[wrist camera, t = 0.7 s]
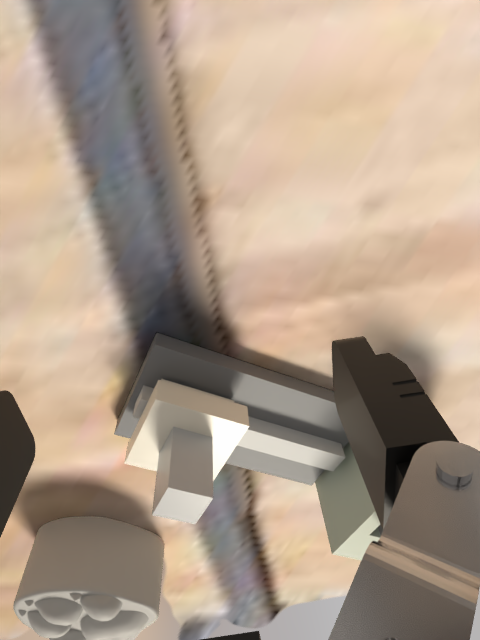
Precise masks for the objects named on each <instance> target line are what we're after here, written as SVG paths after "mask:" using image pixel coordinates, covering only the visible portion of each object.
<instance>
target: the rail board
mask: <svg viewBox="0 0 480 640" xmlns="http://www.w3.org/2000/svg"><path fill="white" fill-rule="evenodd" d="M161 379H164V380H168V381H171V382H174V383H178V384H181V385H184V386H188V387H191V388H194V389H197V390H201V391H204V392H207V393H211V394H214V395H217V396H221V397H224V398H227V399H230V400H234V403H238V404H241V405H244V406H247V408H248V418H249V428H248V429H247V431H246V432H245V434H244V435H243V437H242V438H241V440H240V441H239V443H238V444H237V446H236V447H235V449H234V450H233V452H232V453H231V455H230V456H229V458H228V459H227V461H226V462H225V463H227V464H231V465H235V466H238V467H242V468H246V469H250V470H254V471H258V472H262V473H265V474H269V475H273V476H277V477H281V478H285V479H289V480H293V481H296V482H300V483H304V484H308V485H313V483H314V482H315V481H316V480H317V479H318V478H319V476H320V475H321V474H322V473H323V472H324V470H329V471H332V472H333V471H334V470H335V469H336V468H337V467H338V465H339V464H340V463H341V462H342V461H343V460H344V459H345V454H344V451H343V448H344V447H345V445H346V444H347V443H348V442H349V441H348V438H347V436H346V433H345V431H344V428H343V425H342V423H341V420H340V418H339V415H338V412H337V408H336V403H335V398H334V391H331V390H328V389H325V388H322V387H319V386H316V385H313V384H310V383H307V382H304V381H301V380H298V379H295V378H292V377H289V376H286V375H283V374H280V373H277V372H274V371H271V370H268V369H265V368H262V367H259V366H256V365H253V364H250V363H247V362H244V361H241V360H238V359H235V358H232V357H229V356H226V355H223V354H220V353H217V352H214V351H211V350H208V349H205V348H202V347H199V346H196V345H193V344H190V343H187V342H184V341H181V340H178V339H175V338H172V337H169V336H166V335H163V334H160V333H156V335H155V337H154V339H153V342H152V344H151V346H150V348H149V351H148V353H147V355H146V357H145V360H144V362H143V364H142V366H141V369H140V371H139V373H138V376H137V378H136V380H135V382H134V385H133V387H132V389H131V391H130V394H129V396H128V398H127V400H126V403H125V405H124V407H123V409H122V412H121V414H120V416H119V418H118V421H117V425H116V429H115V433H114V434H115V435H119V436H122V437H126V438H131V436H132V434H133V432H134V430H135V428H136V426H137V424H138V421H139V419H140V417H141V415H142V413H143V411H144V409H145V407H146V405H147V403H148V401H149V398H150V396H151V394H152V392H153V390H154V388H155V386H156V384H157V382H158V380H161Z"/></svg>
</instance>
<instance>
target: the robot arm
mask: <svg viewBox="0 0 480 640" xmlns="http://www.w3.org/2000/svg"><path fill="white" fill-rule="evenodd" d="M332 363H333V387H334V398H335V403H336V408H337V412H338V415H339V418H340V420H341V423H342V425H343V428H344V431H345V433H346V436H347V438H348V441H349V444H350V446H351V449H352V451H353V454H354V457H355V459H356V462H357V464H358V467H359V470H360V472H361V475H362V477H363V480H364V483H365V485H366V488H367V490H368V493H369V496H370V498H371V501H372V503H373V506H374V509H375V511H376V514H377V516H378V519H379V522H380V524H381V527H382V529H383V532H382V535H381V537H380V539H379V540H378V542H376V541H372V542H371V543H370V544H369V546H368V548H367V550H366V552H365V554H364V556H363V558H362V561H361V563H360V565H359V568H358V570H357V573H356V575H355V577H354V580H353V582H352V584H351V587H350V589H349V592H348V594H347V596H346V599H345V601H344V604H343V606H342V608H341V611H340V613H339V615H338V618H337V620H336V623H335V625H334V628H333V630H332V632H331V635H330V637H329V639H328V640H470V634H471V630H472V624H473V619H474V614H475V610H476V604H477V599H478V594H479V587H480V451H478V450H476V449H475V448H472V447H470V446H468V445H465V444H462V443H459V441H458V440H457V439H456V437H455V436H454V434H453V433H452V431H451V430H450V428H449V427H448V425H447V424H446V422H445V421H444V419H443V418H442V416H441V415H440V414H439V412H438V411H437V409H436V408H435V406H434V405H433V403H432V402H431V400H430V399H429V397H428V396H427V394H426V395H425V392H424V390H423V388H422V387H421V385H420V384H419V382H417V381H416V378H415V377H414V375H413V374H412V372H411V371H410V369H409V368H408V366H407V365H406V364H405V363H403V362H402V361H400V360H399V359H397V358H396V357H394V356H393V355H391V354H390V353H387V354H380V355H375V354H374V352H373V350H372V348H371V347H370V345H369V343H368V342H367V340H366V339H365V337H363V336H362V337H355V338H349V339H342V340H336V341H333V342H332ZM34 457H35V441H34V437H33V435H32V433H31V431H30V429H29V427H28V425H27V423H26V421H25V419H24V417H23V415H22V413H21V411H20V409H19V407H18V405H17V403H16V401H15V399H14V397H13V395H12V394H11V393H10V392H8V391H0V537H1V535H2V532H3V530H4V528H5V525H6V523H7V521H8V518H9V516H10V514H11V512H12V509H13V507H14V505H15V502H16V500H17V498H18V495H19V493H20V491H21V488H22V486H23V484H24V482H25V479H26V477H27V475H28V472H29V470H30V468H31V465H32V463H33V460H34ZM201 640H261V639H260V634H259V631H255V632H248V633H242V634H235V635H228V636H221V637H215V638H208V639H201Z"/></svg>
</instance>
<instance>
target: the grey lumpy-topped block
mask: <svg viewBox="0 0 480 640" xmlns="http://www.w3.org/2000/svg"><path fill="white" fill-rule="evenodd" d="M163 557H164V542H163V540H162V539H161V538H160V537H159V536H158V535H156V534H154V533H153V532H150V531H148V530H145V529H143V528H140V527H137V526H135V525H132V524H129V523H125V522H122V521H118V520H115V519H110V518H106V517H99V516H77V517H66V518H61V519H57V520H53V521H50V522H48V523H46V524H44V525H42V526H41V527H40V528H39V530H38V532H37V535H36V538H35V541H34V544H33V547H32V550H31V553H30V556H29V559H28V562H27V565H26V568H25V571H24V574H23V577H22V580H21V583H20V586H19V589H18V592H17V595H16V598H15V601H14V611H15V613H16V615H17V617H18V618H19V619H20V621H21V622H22V623H24V624H25V625H26V626H28V627H30V628H31V629H33V630H34V631H35V632H36V633H37V634H38V635H40V636H42V637H45V638H49V639H50V640H134V639H135V638H136V637H137V636H138V634H139V633H140V632H141V631H142V630H143V629H144V628H146V627H147V626H149V625H151V624H153V623H154V622H155V621H156V620H157V618H158V615H159V604H160V593H161V581H162V569H163Z"/></svg>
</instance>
